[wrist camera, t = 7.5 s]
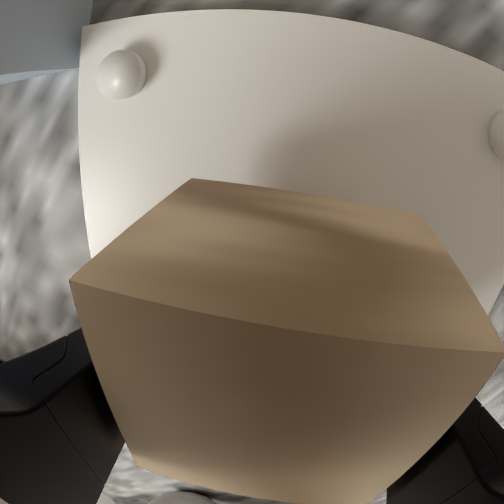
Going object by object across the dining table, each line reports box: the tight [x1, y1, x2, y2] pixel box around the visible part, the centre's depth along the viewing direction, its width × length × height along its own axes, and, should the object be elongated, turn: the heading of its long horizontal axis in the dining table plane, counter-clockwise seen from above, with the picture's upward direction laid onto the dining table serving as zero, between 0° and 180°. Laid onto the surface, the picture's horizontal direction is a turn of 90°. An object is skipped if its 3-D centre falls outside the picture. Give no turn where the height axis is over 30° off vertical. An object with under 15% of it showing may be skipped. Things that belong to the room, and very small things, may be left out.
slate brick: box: [0, 0, 93, 85], centre depth 6 cm, size 5×5×5 cm
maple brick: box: [69, 178, 504, 504], centre depth 7 cm, size 6×6×5 cm
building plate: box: [78, 9, 504, 316], centre depth 11 cm, size 16×16×2 cm
